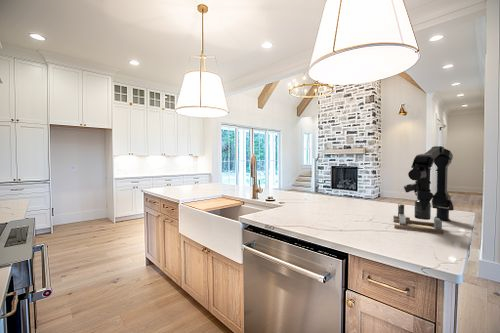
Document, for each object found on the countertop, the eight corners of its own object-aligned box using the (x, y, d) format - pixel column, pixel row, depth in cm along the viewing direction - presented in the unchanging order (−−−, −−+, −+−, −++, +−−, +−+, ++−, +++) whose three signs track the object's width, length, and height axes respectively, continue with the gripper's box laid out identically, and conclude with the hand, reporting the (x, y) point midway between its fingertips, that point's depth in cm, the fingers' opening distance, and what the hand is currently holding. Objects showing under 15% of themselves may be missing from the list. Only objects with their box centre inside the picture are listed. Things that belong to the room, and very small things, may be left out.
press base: (393, 218, 143) (393, 210, 143) (435, 222, 133) (435, 213, 133) (394, 228, 124) (394, 218, 124) (443, 234, 114) (443, 223, 114)
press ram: (397, 218, 142) (398, 204, 141) (403, 218, 140) (404, 204, 140) (399, 226, 126) (399, 210, 125) (406, 227, 124) (406, 211, 124)
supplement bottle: (433, 220, 120) (433, 196, 119) (418, 219, 121) (418, 196, 121) (426, 217, 126) (426, 195, 126) (411, 216, 128) (412, 194, 128)
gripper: (403, 176, 135) (403, 203, 136) (406, 180, 119) (405, 210, 120) (427, 177, 129) (427, 205, 130) (433, 181, 113) (432, 213, 114)
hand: (422, 208), depth 124 cm, fingers closed on supplement bottle, 7 cm apart
